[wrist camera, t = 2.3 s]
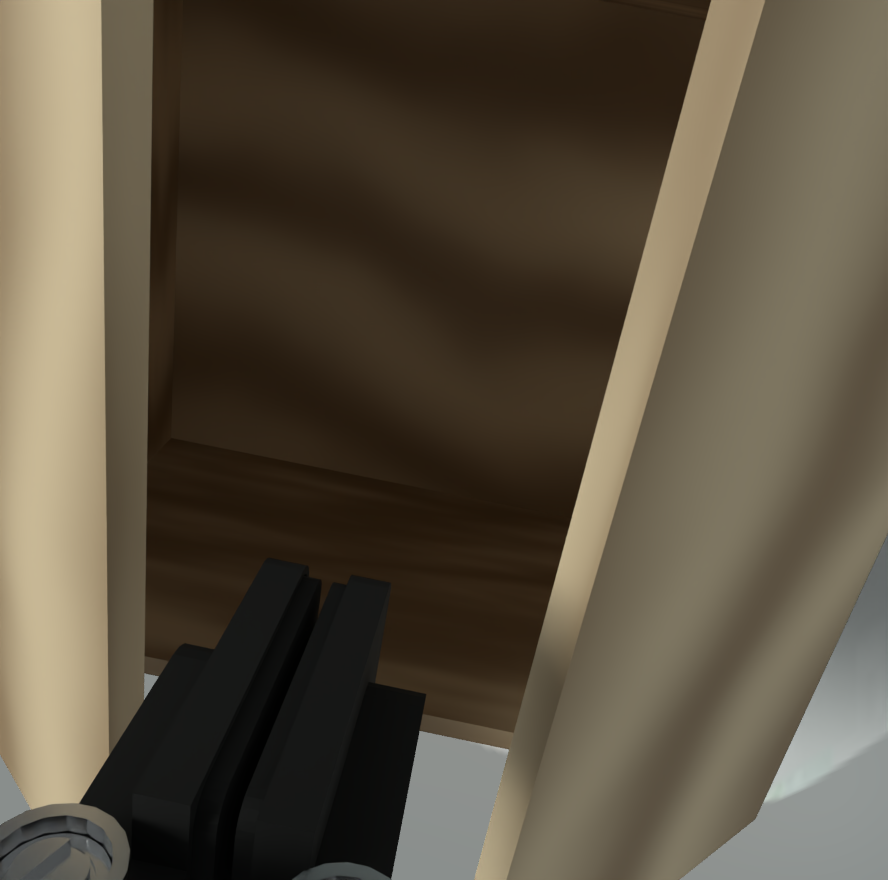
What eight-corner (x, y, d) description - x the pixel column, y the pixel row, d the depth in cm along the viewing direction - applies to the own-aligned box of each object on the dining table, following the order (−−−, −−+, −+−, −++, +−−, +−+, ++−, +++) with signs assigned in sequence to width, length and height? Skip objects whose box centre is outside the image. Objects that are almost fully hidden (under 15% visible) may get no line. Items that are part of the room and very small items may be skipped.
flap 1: (157, -248, 9) (97, -271, 8) (140, 931, 17) (111, 949, 16) (-123, -206, 15) (-165, -218, 14) (-36, 641, 23) (-60, 649, 22)
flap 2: (433, 1031, 16) (453, 1060, 16) (754, -160, 8) (812, -161, 7) (735, 802, 22) (755, 819, 22) (1087, 10, 14) (1128, 14, 14)
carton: (174, -98, 26) (-112, -209, 15) (843, 24, 26) (1080, 4, 14) (162, 444, 35) (-28, 639, 23) (669, 545, 34) (731, 798, 23)
